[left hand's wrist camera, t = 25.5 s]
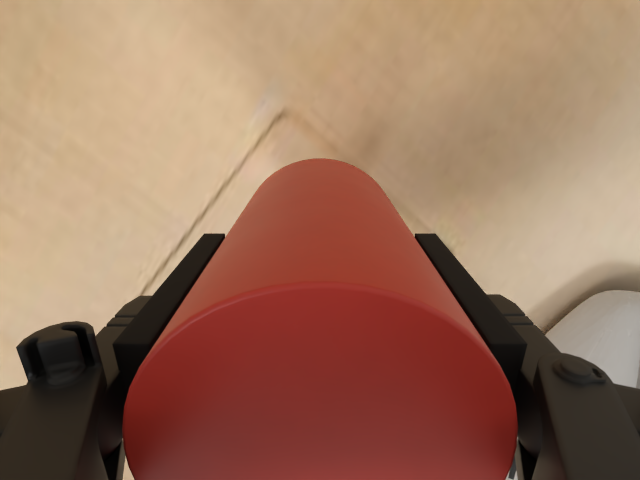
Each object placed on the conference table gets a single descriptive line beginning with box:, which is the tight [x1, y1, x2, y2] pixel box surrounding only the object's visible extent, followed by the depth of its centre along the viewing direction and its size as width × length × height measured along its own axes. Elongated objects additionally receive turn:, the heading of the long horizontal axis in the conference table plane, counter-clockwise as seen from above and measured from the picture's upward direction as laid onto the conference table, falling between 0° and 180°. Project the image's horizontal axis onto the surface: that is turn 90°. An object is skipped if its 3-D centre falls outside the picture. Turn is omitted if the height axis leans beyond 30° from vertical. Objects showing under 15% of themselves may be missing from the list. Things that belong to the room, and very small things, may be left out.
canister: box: [122, 159, 518, 480], centre depth 12 cm, size 7×7×12 cm
